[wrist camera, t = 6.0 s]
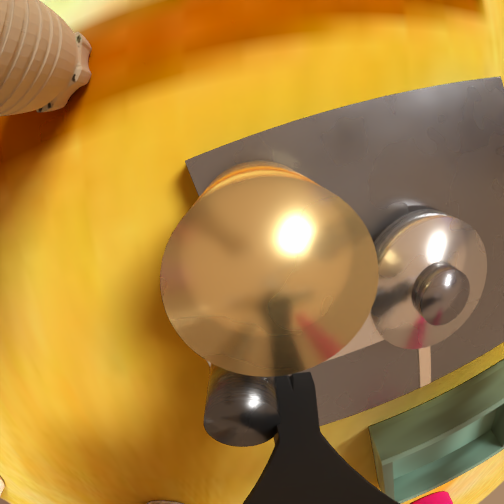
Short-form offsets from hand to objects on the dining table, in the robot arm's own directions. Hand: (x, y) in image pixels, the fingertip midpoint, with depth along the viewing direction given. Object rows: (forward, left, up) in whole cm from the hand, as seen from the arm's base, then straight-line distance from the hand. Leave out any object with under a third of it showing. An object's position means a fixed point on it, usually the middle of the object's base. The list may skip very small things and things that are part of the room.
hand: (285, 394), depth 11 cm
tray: (-8, +12, -3) cm, 14 cm away
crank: (-3, -2, -2) cm, 4 cm away
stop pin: (-1, -6, -2) cm, 6 cm away
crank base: (-6, -2, -3) cm, 7 cm away
